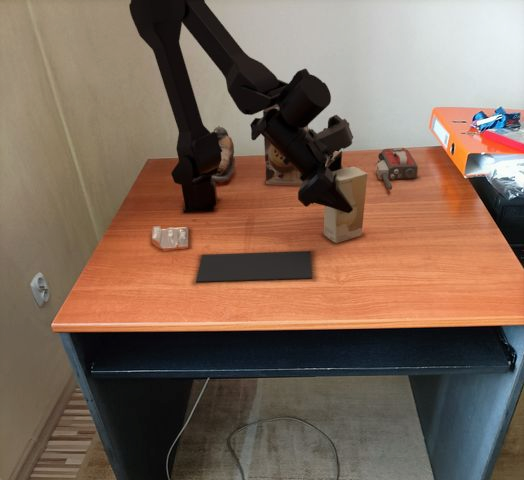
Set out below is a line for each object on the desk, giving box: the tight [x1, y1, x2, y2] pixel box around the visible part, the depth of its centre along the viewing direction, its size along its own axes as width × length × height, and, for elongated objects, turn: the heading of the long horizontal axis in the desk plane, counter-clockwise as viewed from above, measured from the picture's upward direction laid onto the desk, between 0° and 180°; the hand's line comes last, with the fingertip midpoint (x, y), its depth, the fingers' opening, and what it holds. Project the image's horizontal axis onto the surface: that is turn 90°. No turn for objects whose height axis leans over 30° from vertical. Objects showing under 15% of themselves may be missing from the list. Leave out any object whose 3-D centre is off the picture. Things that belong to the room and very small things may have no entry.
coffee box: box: [262, 104, 309, 187], centre depth 115 cm, size 9×6×16 cm
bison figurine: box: [210, 125, 236, 183], centre depth 121 cm, size 12×7×10 cm, turn 176°
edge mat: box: [195, 250, 313, 284], centre depth 92 cm, size 20×9×1 cm, turn 88°
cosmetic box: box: [323, 166, 368, 244], centre depth 95 cm, size 6×4×12 cm
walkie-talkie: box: [375, 147, 419, 191], centre depth 117 cm, size 9×4×20 cm
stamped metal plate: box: [151, 225, 190, 252], centre depth 101 cm, size 8×7×2 cm
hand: (352, 202), depth 94 cm, fingers closed on cosmetic box, 7 cm apart
